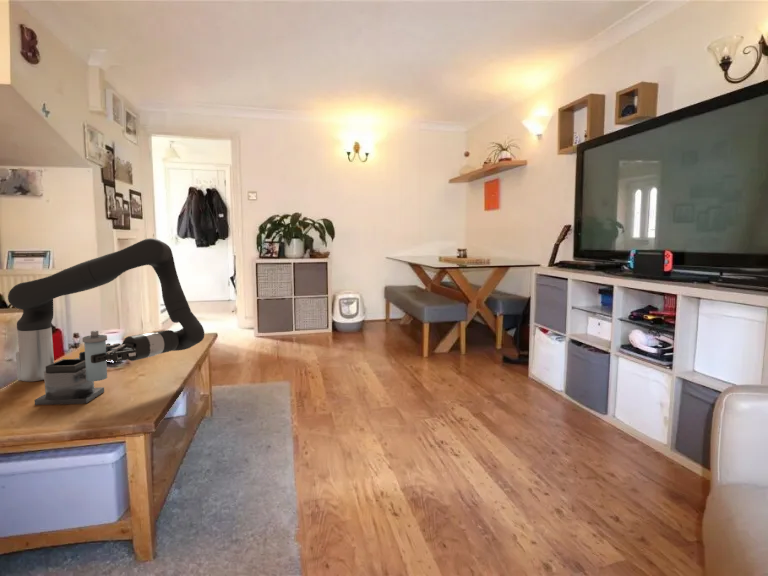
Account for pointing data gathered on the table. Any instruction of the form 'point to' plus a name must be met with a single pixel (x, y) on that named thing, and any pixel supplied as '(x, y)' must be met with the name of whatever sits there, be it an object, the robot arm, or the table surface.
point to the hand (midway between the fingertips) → (86, 358)
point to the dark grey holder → (67, 384)
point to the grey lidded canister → (92, 347)
